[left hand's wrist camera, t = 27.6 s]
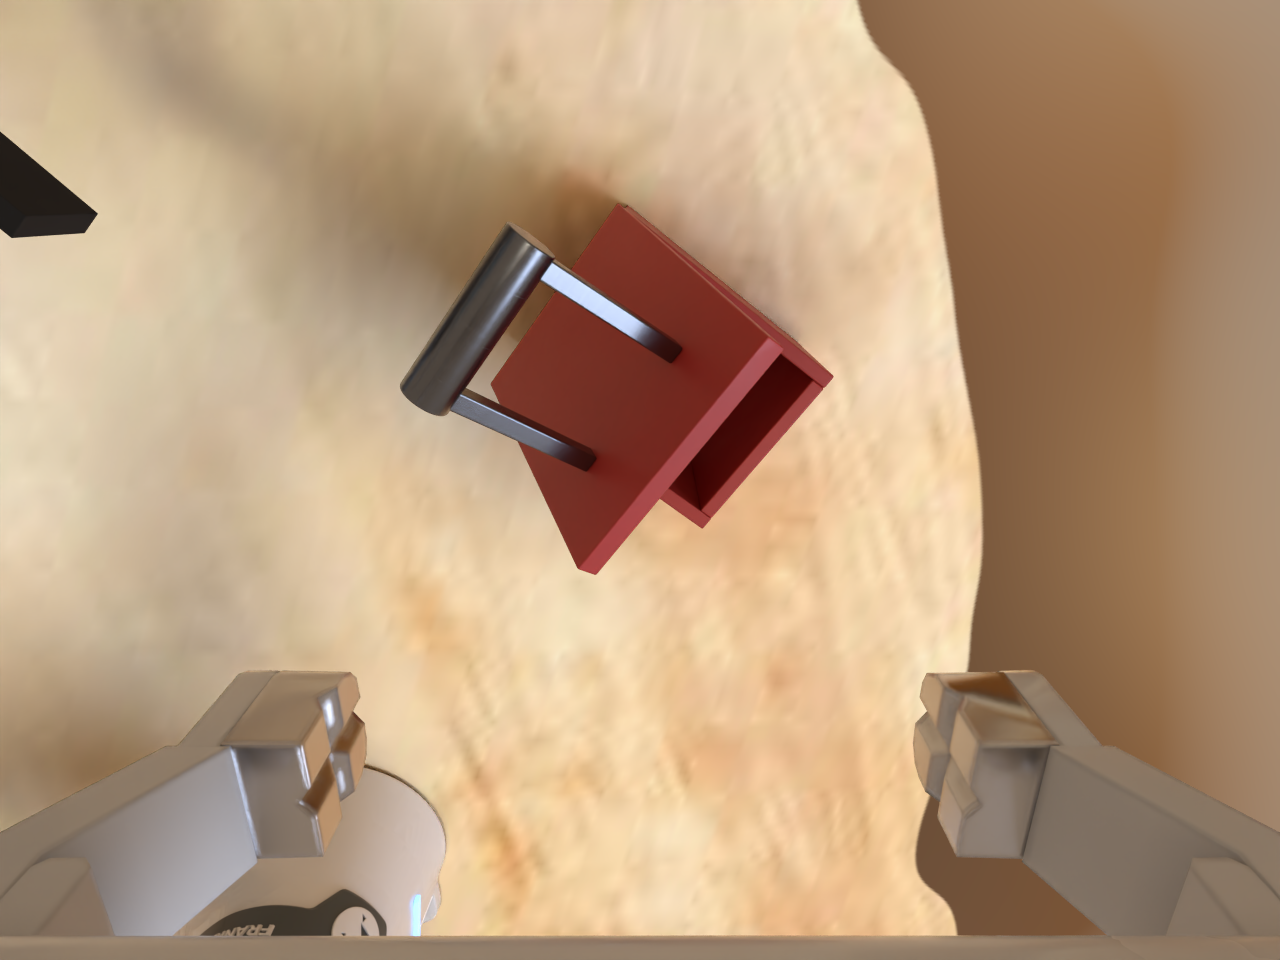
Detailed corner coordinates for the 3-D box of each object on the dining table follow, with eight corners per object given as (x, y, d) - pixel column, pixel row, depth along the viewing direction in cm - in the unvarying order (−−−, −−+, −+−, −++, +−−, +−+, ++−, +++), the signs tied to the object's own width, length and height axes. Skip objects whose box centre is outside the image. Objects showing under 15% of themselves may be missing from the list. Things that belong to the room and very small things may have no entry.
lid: (785, 348, 23) (588, 198, 18) (596, 575, 26) (379, 502, 21) (631, 213, 33) (473, 89, 28) (504, 391, 36) (339, 309, 30)
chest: (798, 342, 44) (834, 376, 36) (691, 470, 47) (702, 529, 39) (627, 204, 41) (624, 207, 33) (525, 349, 44) (498, 385, 36)
